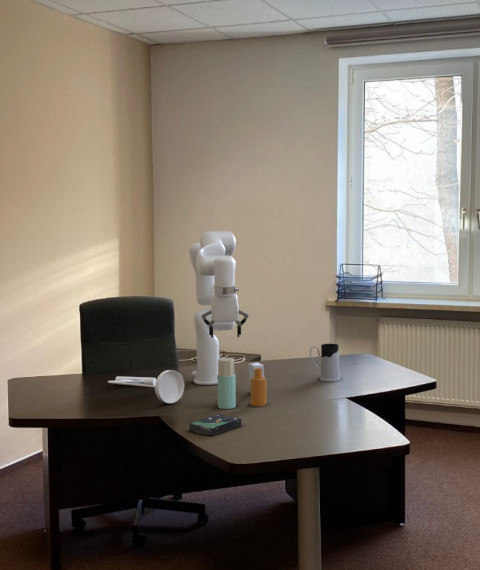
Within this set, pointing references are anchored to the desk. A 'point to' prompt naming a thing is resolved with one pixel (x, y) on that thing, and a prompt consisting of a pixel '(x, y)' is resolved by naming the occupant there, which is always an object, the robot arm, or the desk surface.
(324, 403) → the desk surface
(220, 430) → the disk drive
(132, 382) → the desk lamp
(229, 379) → the bottle
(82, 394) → the desk surface
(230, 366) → the cream short cylinder
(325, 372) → the glass holder
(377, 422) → the desk surface
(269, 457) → the desk surface
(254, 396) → the amber bottle
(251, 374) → the cosmetic box
